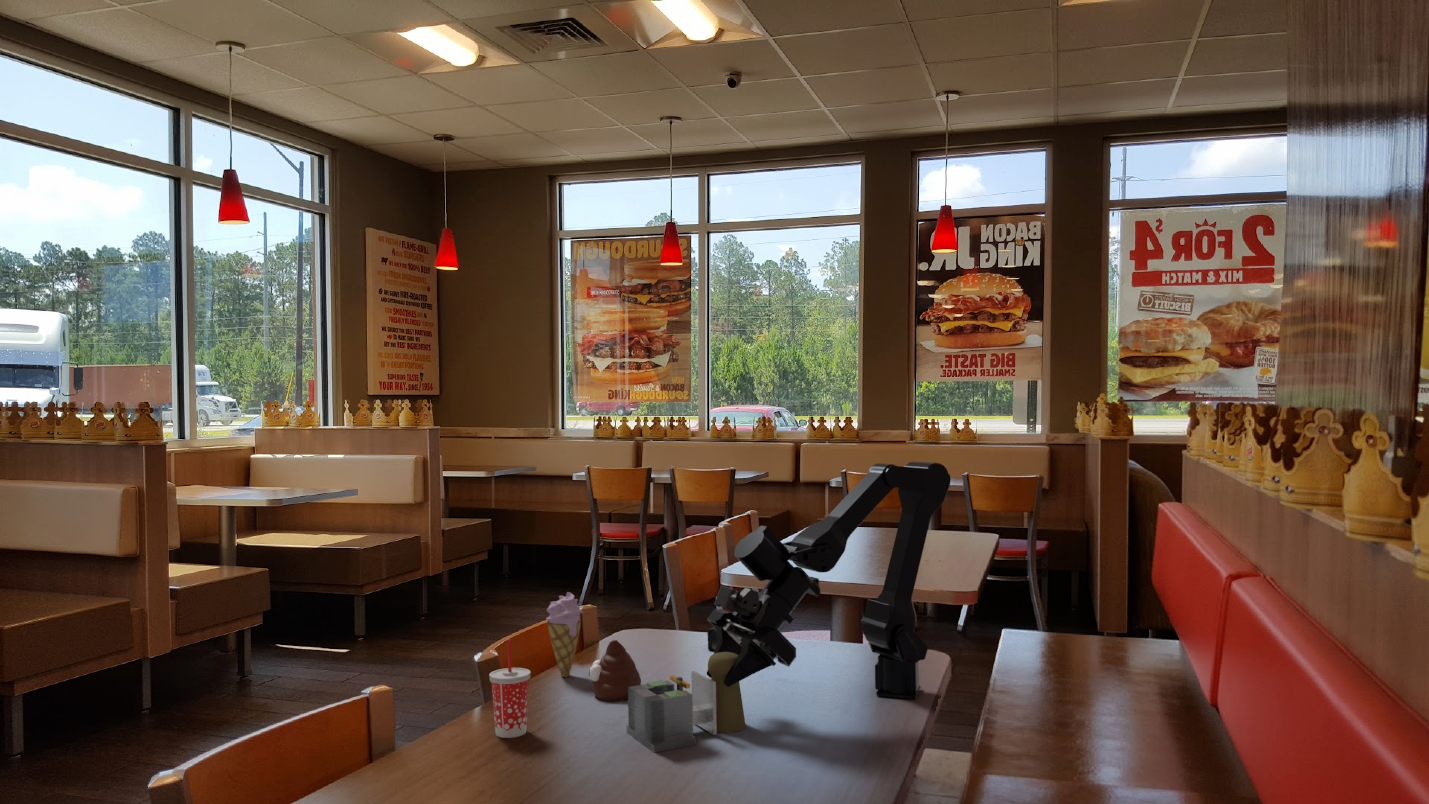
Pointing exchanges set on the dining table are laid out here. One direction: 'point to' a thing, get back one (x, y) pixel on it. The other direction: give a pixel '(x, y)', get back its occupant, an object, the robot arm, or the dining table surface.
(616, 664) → the poop emoji
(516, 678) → the beverage cup
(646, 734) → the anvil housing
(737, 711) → the cork
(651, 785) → the dining table surface
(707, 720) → the plunger
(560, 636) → the ice cream cone
